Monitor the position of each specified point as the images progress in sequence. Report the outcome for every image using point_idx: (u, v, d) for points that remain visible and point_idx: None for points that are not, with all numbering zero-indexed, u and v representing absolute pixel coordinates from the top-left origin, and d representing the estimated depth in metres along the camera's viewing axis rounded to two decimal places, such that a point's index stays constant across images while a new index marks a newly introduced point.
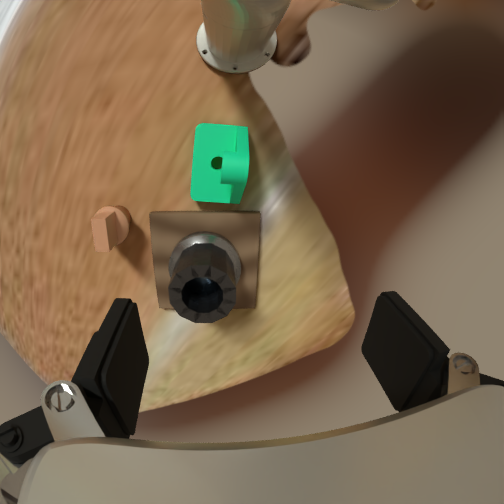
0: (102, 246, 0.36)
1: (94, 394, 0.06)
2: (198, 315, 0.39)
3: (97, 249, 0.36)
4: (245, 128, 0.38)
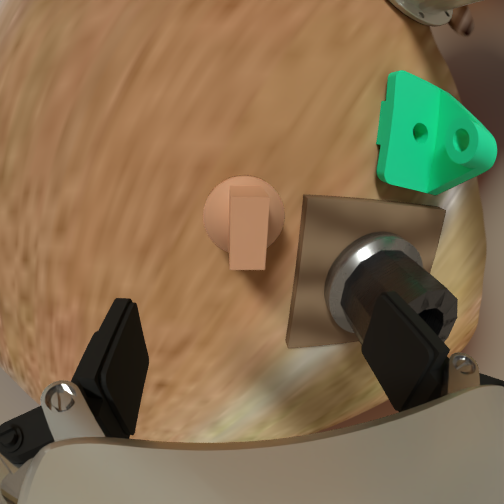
0: (249, 259, 0.19)
1: (94, 394, 0.06)
2: None
3: (234, 266, 0.19)
4: (450, 94, 0.20)
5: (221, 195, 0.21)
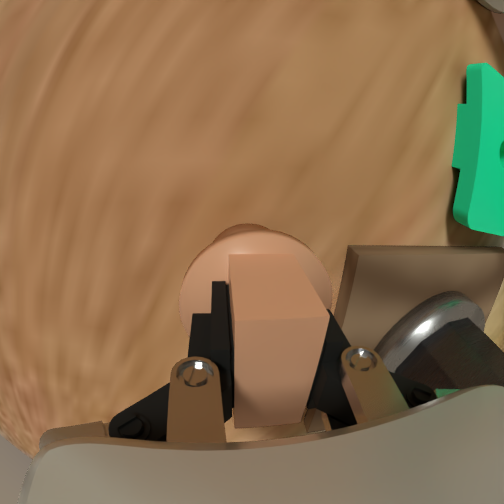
0: (273, 415, 0.08)
1: (222, 366, 0.07)
2: None
3: (244, 423, 0.08)
4: None
5: (212, 273, 0.10)
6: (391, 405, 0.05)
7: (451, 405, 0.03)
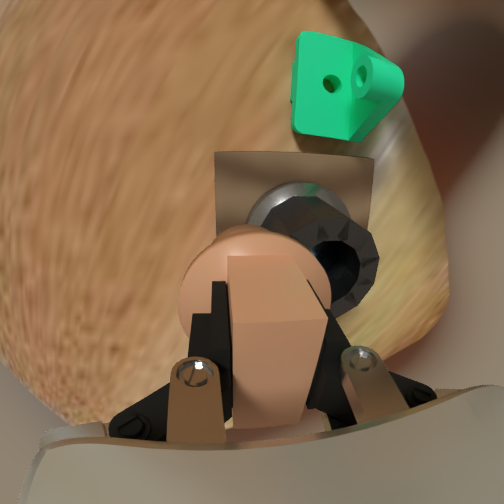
0: (272, 416, 0.08)
1: (222, 366, 0.07)
2: None
3: (243, 424, 0.08)
4: (364, 45, 0.22)
5: (211, 274, 0.10)
6: (391, 405, 0.05)
7: (451, 405, 0.03)
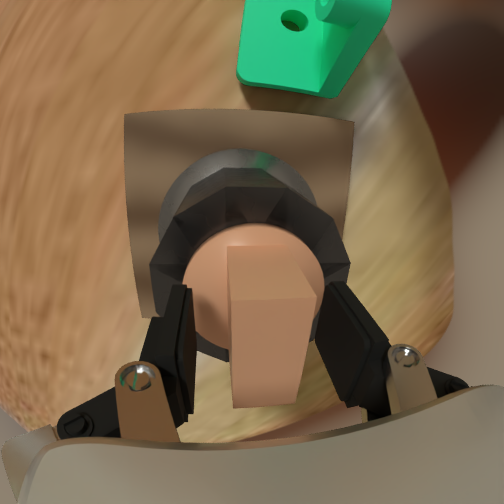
0: (269, 394, 0.09)
1: (168, 372, 0.07)
2: None
3: (242, 403, 0.09)
4: None
5: (212, 263, 0.11)
6: (424, 401, 0.05)
7: (451, 405, 0.03)
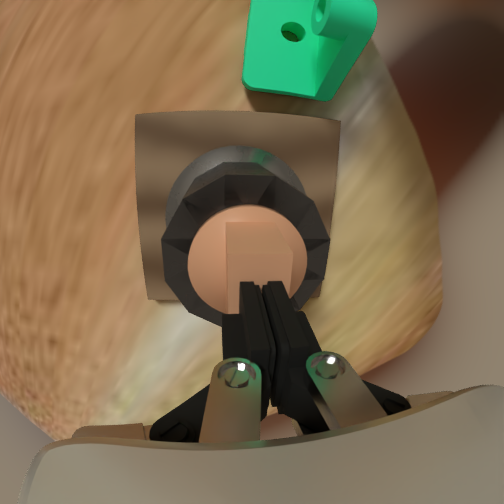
0: None
1: (260, 366, 0.07)
2: None
3: None
4: None
5: (213, 236, 0.14)
6: (366, 412, 0.05)
7: (451, 405, 0.03)
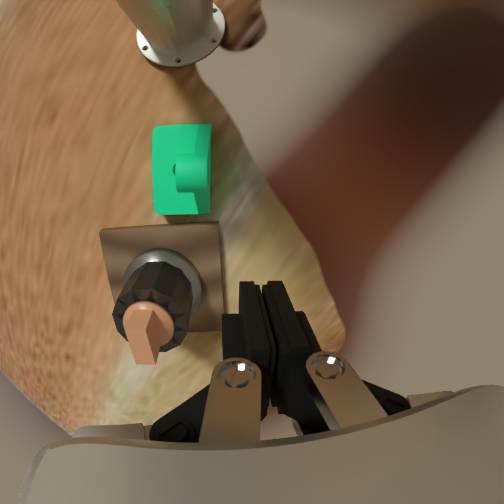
0: (145, 359, 0.28)
1: (260, 366, 0.07)
2: None
3: (138, 362, 0.28)
4: (207, 125, 0.32)
5: (130, 315, 0.30)
6: (366, 412, 0.05)
7: (451, 405, 0.03)
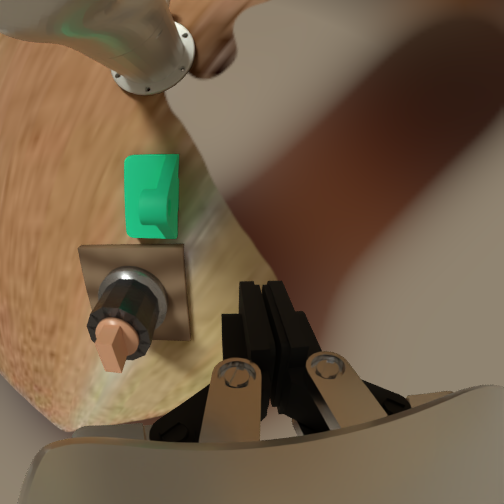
0: (113, 368, 0.30)
1: (260, 366, 0.07)
2: None
3: (107, 370, 0.31)
4: (174, 157, 0.34)
5: (101, 328, 0.33)
6: (366, 412, 0.05)
7: (451, 405, 0.03)
